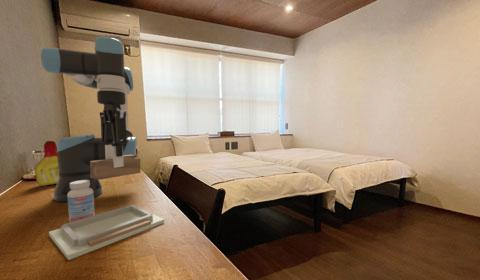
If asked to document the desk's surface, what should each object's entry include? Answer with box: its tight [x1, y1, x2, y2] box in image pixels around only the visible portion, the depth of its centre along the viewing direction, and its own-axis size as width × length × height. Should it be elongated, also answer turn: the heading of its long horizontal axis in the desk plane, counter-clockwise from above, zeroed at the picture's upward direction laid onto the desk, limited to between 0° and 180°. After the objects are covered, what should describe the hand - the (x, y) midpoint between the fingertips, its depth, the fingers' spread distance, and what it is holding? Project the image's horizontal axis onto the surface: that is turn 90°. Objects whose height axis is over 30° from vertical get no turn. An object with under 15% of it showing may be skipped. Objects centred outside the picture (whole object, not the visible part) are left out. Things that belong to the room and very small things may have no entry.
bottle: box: [34, 140, 59, 187], centre depth 102 cm, size 12×6×20 cm, turn 138°
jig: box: [48, 204, 165, 261], centre depth 59 cm, size 16×22×2 cm
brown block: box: [90, 155, 141, 181], centre depth 71 cm, size 5×13×6 cm, turn 142°
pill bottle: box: [67, 180, 96, 223], centre depth 63 cm, size 6×6×11 cm
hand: (114, 165), depth 70 cm, fingers closed on brown block, 5 cm apart
